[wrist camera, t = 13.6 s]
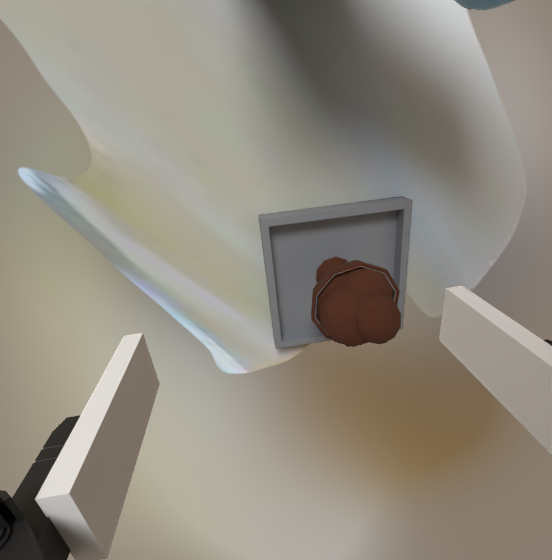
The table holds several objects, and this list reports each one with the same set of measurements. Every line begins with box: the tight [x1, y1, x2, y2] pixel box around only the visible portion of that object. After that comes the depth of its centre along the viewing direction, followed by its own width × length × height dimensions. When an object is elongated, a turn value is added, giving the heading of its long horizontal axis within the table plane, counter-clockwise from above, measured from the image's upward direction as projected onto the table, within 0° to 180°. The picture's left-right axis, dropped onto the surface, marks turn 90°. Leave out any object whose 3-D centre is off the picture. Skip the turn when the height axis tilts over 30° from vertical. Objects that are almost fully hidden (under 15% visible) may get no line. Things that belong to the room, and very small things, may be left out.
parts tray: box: [259, 197, 412, 349], centre depth 47 cm, size 20×20×3 cm
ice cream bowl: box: [311, 257, 401, 347], centre depth 41 cm, size 11×11×15 cm
